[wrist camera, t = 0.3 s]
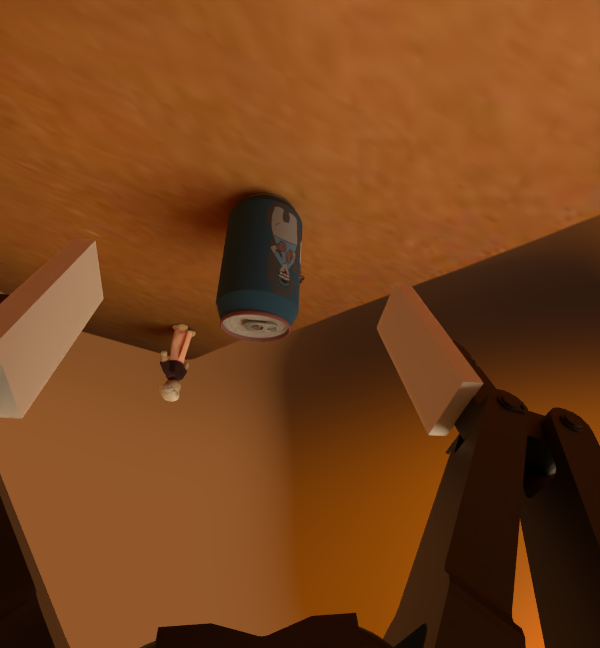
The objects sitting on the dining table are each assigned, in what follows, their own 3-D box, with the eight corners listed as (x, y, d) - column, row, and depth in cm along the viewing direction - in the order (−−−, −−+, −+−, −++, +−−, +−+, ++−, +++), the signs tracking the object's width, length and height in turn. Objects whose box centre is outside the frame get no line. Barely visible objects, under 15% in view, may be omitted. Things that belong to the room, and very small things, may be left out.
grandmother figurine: (205, 334, 62) (194, 405, 57) (189, 337, 64) (176, 406, 59) (175, 317, 56) (159, 395, 51) (158, 320, 57) (140, 396, 52)
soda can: (232, 233, 36) (216, 340, 31) (228, 182, 30) (207, 306, 25) (297, 241, 37) (292, 347, 32) (308, 192, 30) (303, 315, 25)
